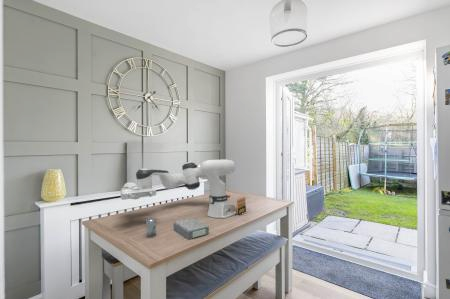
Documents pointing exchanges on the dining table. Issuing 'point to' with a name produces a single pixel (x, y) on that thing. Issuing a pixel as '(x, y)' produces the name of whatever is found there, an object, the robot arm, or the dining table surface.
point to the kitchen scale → (191, 228)
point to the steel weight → (151, 227)
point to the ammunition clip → (240, 206)
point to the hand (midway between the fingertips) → (143, 196)
